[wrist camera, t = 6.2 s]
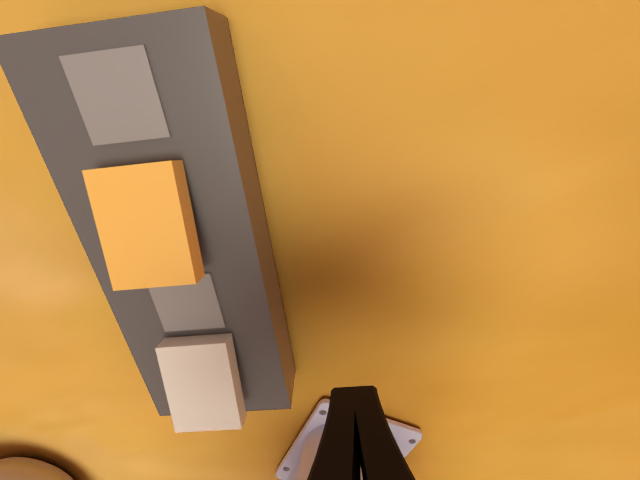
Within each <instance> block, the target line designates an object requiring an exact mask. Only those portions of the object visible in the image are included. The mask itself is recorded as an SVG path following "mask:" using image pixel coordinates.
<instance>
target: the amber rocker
mask: <svg viewBox="0 0 640 480" xmlns="http://www.w3.org/2000/svg"><path fill="white" fill-rule="evenodd" d="M82 174H83V177H84V181H85V185H86V189H87V193H88V196H89V200H90V204H91V208H92V212H93V216H94V219H95V223H96V227H97V231H98V235H99V239H100V242H101V246H102V250H103V254H104V258H105V262H106V265H107V269H108V273H109V277H110V281H111V284H112V288H113V291H119V290H131V289H143V288H155V287H166V286H178V285H190V284H197V283H198V282H199V281H200V280H201V279H202V278H203V277H204V276H205V273H204V268H203V263H202V258H201V252H200V247H199V242H198V237H197V232H196V227H195V221H194V216H193V211H192V206H191V201H190V196H189V190H188V185H187V180H186V175H185V170H184V164H183V160H171V161H162V162H153V163H144V164H135V165H126V166H117V167H108V168H99V169H90V170H82Z"/></svg>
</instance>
